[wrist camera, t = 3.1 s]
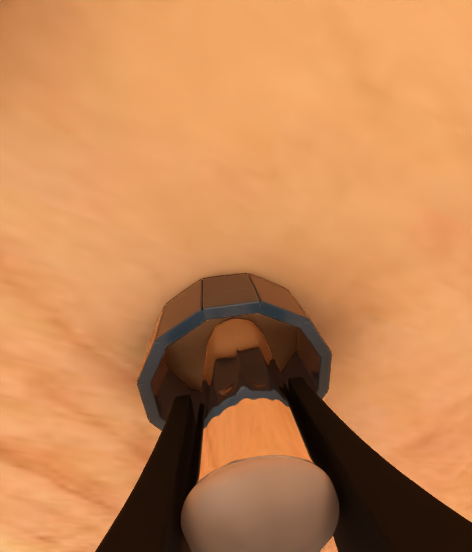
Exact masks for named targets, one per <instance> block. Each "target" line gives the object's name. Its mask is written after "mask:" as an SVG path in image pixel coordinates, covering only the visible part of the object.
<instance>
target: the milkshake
mask: <svg viewBox="0 0 472 552" xmlns="http://www.w3.org/2000/svg"><path fill="white" fill-rule="evenodd" d="M338 518H339V501H338V497H337V493H336V490H335V488H334V485H333V483H332V481H331V479H330V477H329V475H328V473H327V471H326V469H325V466H324V464H323V462H322V460H321V458H320V456H319V454H318V452H317V450H316V448H315V446H314V444H313V442H312V440H311V438H310V436H309V434H308V432H307V429H306V427H305V425H304V423H303V421H302V419H301V417H300V415H299V413H298V411H297V409H296V407H295V405H294V402H293V400H292V398H291V396H290V393H289V391H288V389H287V387H286V384H285V382H284V380H283V378H282V375H281V373H280V371H279V369H278V366H277V364H276V362H275V360H274V358H273V355H272V353H271V351H270V349H269V347H268V344H267V342H266V340H265V338H264V335H263V333H262V331H261V330H260V329H259V328H258V327H257V326H255V325H254V324H253V323H252V322H251V321H250V320H243V319H235V318H232V319H229V320H227V321H225V322H223V323H221V324H218V325H216V327H215V329H214V330H213V332H212V334H211V335H210V337H209V339H208V344H207V351H206V358H205V366H204V373H203V380H202V388H201V395H200V403H199V411H198V418H197V425H196V431H195V437H194V443H193V449H192V455H191V461H190V467H189V473H188V480H187V486H186V492H185V498H184V505H183V508H182V512H181V528H182V531H183V534H184V536H185V538H186V540H187V542H188V545H189V547H190V549H191V550H192V552H320V551H321V549H322V548H323V547H324V546H325V545H326V544H327V542H328V541H329V540H330V539H331V538H332V536H333V534H334V531H335V529H336V526H337V523H338Z"/></svg>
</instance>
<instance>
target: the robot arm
mask: <svg viewBox="0 0 472 552" xmlns="http://www.w3.org/2000/svg"><path fill="white" fill-rule="evenodd" d="M288 391H289V393H290V396H291V398H292V400H293V402H294V405H295V407H296V409H297V411H298V413H299V415H300V417H301V419H302V421H303V423H304V425H305V427H306V429H307V432H308V434H309V436H310V438H311V440H312V442H313V444H314V446H315V448H316V450H317V452H318V454H319V456H320V458H321V460H322V462H323V464H324V466H325V469H326V471H327V473H328V475H329V477H330V479H331V481H332V483H333V485H334V488H335V490H336V493H337V497H338V501H339V518H338V523H337V526H336V529H335V531H334V534H333V536H334V539H335V543H336V546H337V549H338V552H472V522H470V521H468V520H467V519H465V518H464V517H462V516H461V515H459V514H458V513H456V512H455V511H454V510H452V509H451V508H449V507H448V506H446V505H445V504H443V503H442V502H440V501H439V500H438V499H436V498H435V497H433V496H432V495H431V494H429V493H428V492H427V491H425V490H424V489H423V488H421V487H420V486H419V485H417V484H416V483H414V482H413V481H412V480H410V479H409V478H408V477H406V476H405V475H404V474H402V473H401V472H400V471H399V470H397V469H396V468H395V467H394V466H392V465H391V464H390V463H389V462H387V461H386V460H385V459H384V458H383V457H381V456H380V455H379V454H378V453H377V452H375V451H374V450H373V449H372V448H371V447H370V446H369V445H367V444H366V443H365V442H364V441H363V440H362V439H361V438H360V437H359V436H358V435H356V434H355V433H354V432H353V431H352V430H351V429H350V428H349V427H348V426H347V425H346V424H345V423H344V422H343V421H342V420H341V419H340V418H339V417H338V416H337V415H336V414H335V413H334V412H333V411H332V410H331V409H330V408H329V407H328V406H327V405H326V403H325V402H324V401H323V400H322V399H321V398H320V397H319V396H318V395H317V394H316V392H315V391H314V390H313V389H312V388H311V387H310V385H309V384H308V383H307V382H306V381H305V379H304V378H303V377H301V376H300V377H294V378H288ZM196 425H197V424H196V419H195V414H194V409H193V404H192V400H191V395H190V394H188V395H182V396H176V397H175V398H174V401H173V404H172V407H171V410H170V412H169V415H168V418H167V420H166V423H165V425H164V427H163V430H162V432H161V434H160V436H159V439H158V441H157V443H156V445H155V448H154V450H153V452H152V454H151V456H150V458H149V460H148V462H147V464H146V466H145V468H144V470H143V472H142V474H141V476H140V478H139V479H138V481H137V483H136V485H135V487H134V489H133V490H132V492H131V494H130V496H129V498H128V499H127V501H126V503H125V504H124V506H123V508H122V510H121V511H120V513H119V515H118V516H117V518H116V519H115V521H114V523H113V524H112V526H111V527H110V529H109V531H108V532H107V534H106V536H105V537H104V539H103V540H102V542H101V543H100V545H99V546H98V548H97V549H96V551H95V552H192V550H191V549H190V547H189V545H188V542H187V540H186V538H185V536H184V534H183V531H182V528H181V512H182V508H183V505H184V498H185V492H186V486H187V480H188V473H189V467H190V461H191V455H192V449H193V443H194V437H195V431H196Z"/></svg>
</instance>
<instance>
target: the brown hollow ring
mask: <svg viewBox="0 0 472 552" xmlns="http://www.w3.org/2000/svg"><path fill="white" fill-rule="evenodd" d="M254 313H260V314H262V315H265V316H268V317H271V318H273V319H276V320H279V321H282V322H285V323H287V324H290V325H293V326H296V327H297V350H296V352H295V353H294V355H293V356H292V358H291V360H290V361H289V363H288V364H287V366H286V367H285V369H284V370H283V372H282V373H281V375H282V378H283V380H284V382H285V384H286V387H287V389H288V378H294V377H300V376H301V377H303V378H304V379H305V381H306V382H307V383H308V384H309V385H310V387H311V388H312V389H313V390H314V391H315V392H316V394H317V395H318V396H319V397H320V398H321V399H323V398H324V396H325V395H326V394H327V392H328V391H327V390H329V381H330V371H331V361H332V353H331V350H330V349H329V347H328V346H327V344H326V343H325V341H324V340H323V338H322V337H321V335H320V334H319V332H318V331H317V329H316V328H315V326H314V325H313V323H312V322H311V320H310V319H309V317H308V316H307V315H306V313H305V312H304V311H303V309H302V308H301V307H300V305H299V304H298V303H297V301H296V300H295V299H294V297H293V296H292V295H291V293H290V292H289V291H288V290H287V289H286V288H284V287H282V286H279V285H277V284H274V283H272V282H269V281H267V280H264V279H262V278H260V277H257V276H255V275H252V274H247V273H244V274H236V275H227V276H219V277H211V278H203V280H199V281H198V282H196V283H195V284H193V285H192V286H191V287H189V288H188V289H186V290H185V291H183V292H182V293H181V294H179V295H178V296H176V297H175V298H173V299H172V300H171V301H169V302H168V303H166V305H165V306H164V308H163V310H162V313H161V315H160V317H159V320H158V322H157V325H156V327H155V329H154V332H153V334H152V337H151V339H150V342H149V345H148V348H147V352H146V355H145V358H144V361H143V364H142V367H141V370H140V374H139V377H138V380H137V386H138V389H139V392H140V395H141V399H142V402H143V405H144V408H145V411H146V414H147V418H148V420H149V422H150V423H152V424H153V425H154V426H156V427H157V428H158V429H160V430H161V431H162V430H163V427H164V425H165V423H166V420H167V418H168V415H169V412H170V410H171V407H172V404H173V401H174V398H175V397H176V396H182V395H188V394H190V395H191V400H192V404H193V409H194V414H195V419H196V424H197V418H198V411H199V403H200V395H201V392H199V391H195V390H191V389H190V388H189V387H188V386H187V385H185V384H184V383H183V382H182V381H181V380H180V379H179V378H177V377H176V376H175V375H174V374H173V373H172V372H171V371H169V370H168V367H167V362H166V358H165V354H164V353H165V350H166V348H167V347H168V346H169V345H171V344H172V343H174V342H175V341H177V340H178V339H180V338H181V337H182V336H184V335H185V334H187V333H188V332H190V331H191V330H193V329H194V328H196V327H197V326H199V325H200V324H202V323H203V322H205V321H206V320H210V319H217V318H225V317H232V316H240V315H247V314H254Z"/></svg>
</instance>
